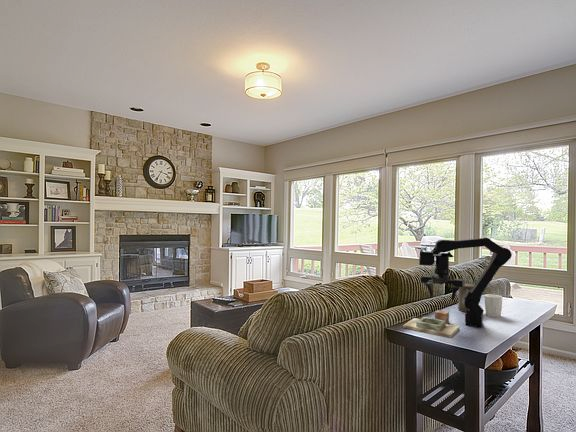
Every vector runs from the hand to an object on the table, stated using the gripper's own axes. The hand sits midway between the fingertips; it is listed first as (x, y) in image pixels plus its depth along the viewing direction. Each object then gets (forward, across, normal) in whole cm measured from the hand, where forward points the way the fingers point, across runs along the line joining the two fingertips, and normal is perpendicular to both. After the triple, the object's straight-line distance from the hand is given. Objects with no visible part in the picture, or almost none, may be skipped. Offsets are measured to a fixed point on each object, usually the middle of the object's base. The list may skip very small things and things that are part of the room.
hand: (442, 299), depth 167 cm
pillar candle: (+11, +5, +31) cm, 33 cm away
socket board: (+11, -1, -13) cm, 17 cm away
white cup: (+11, +17, +29) cm, 35 cm away
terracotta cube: (+11, 0, 0) cm, 11 cm away
